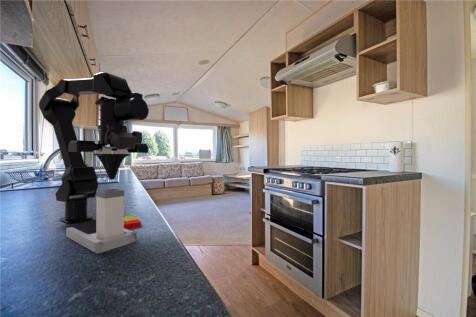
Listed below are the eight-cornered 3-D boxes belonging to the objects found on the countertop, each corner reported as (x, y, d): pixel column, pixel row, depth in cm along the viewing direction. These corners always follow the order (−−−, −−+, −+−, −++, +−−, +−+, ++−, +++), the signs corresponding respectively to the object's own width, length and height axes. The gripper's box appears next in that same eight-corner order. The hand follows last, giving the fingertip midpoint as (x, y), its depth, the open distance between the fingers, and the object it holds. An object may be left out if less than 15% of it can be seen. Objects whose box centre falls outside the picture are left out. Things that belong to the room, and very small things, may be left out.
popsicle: (120, 232, 61) (120, 225, 61) (110, 219, 73) (110, 213, 73) (142, 228, 64) (142, 221, 64) (129, 216, 76) (129, 211, 76)
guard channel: (66, 236, 56) (66, 228, 56) (103, 227, 63) (103, 220, 63) (97, 253, 47) (97, 243, 47) (136, 241, 54) (136, 232, 53)
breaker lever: (95, 241, 52) (96, 190, 51) (114, 236, 55) (114, 188, 55) (104, 245, 49) (105, 192, 49) (123, 240, 53) (124, 190, 52)
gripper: (87, 114, 51) (87, 185, 51) (160, 123, 66) (159, 178, 66) (67, 118, 57) (67, 181, 58) (137, 126, 73) (137, 176, 73)
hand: (112, 179), depth 63 cm, fingers closed
